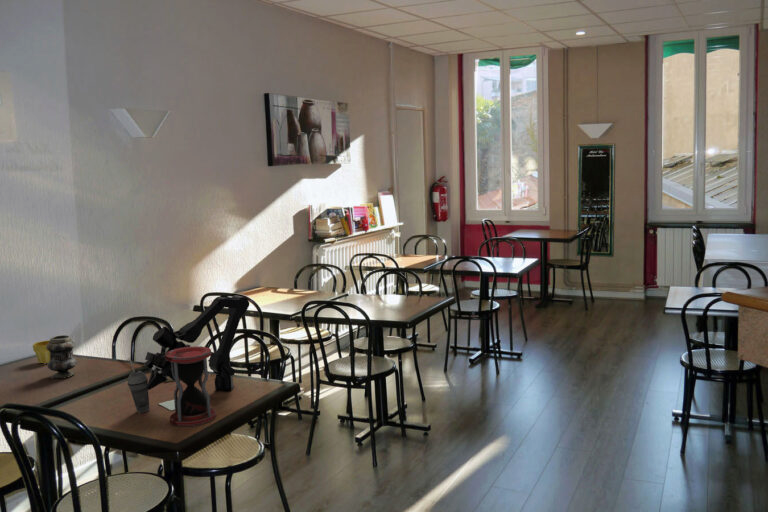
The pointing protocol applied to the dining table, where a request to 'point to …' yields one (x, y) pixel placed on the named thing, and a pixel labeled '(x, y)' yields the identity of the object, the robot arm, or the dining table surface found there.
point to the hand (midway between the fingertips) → (147, 389)
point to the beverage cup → (139, 390)
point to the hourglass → (190, 386)
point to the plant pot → (42, 351)
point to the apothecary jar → (61, 355)
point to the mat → (168, 405)
